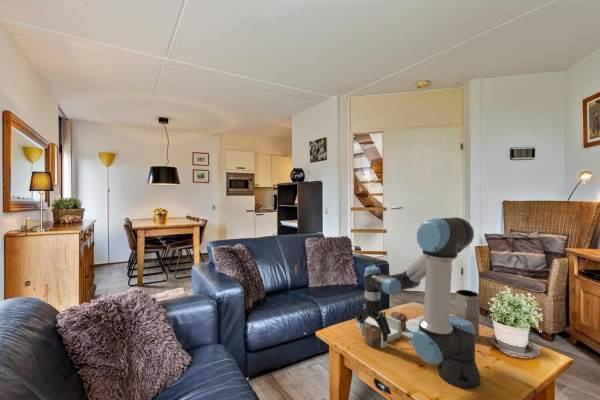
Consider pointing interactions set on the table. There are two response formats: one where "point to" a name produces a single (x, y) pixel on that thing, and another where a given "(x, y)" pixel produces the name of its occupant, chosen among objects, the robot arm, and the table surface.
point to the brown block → (372, 336)
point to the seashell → (400, 318)
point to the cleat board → (392, 322)
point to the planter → (468, 308)
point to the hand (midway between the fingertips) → (373, 341)
